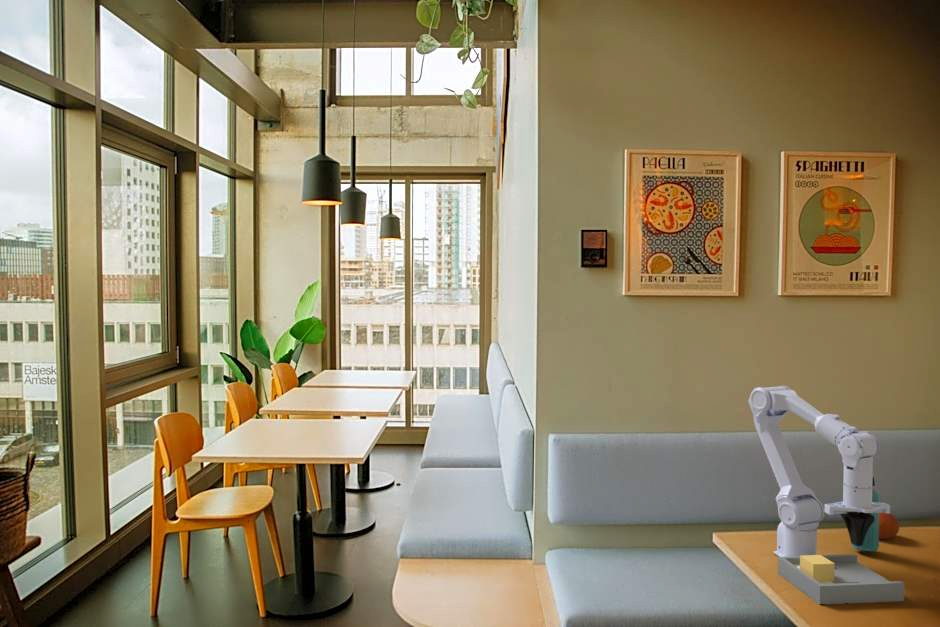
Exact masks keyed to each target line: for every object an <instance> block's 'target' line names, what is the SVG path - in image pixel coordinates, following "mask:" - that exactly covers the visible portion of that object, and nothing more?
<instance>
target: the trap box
mask: <svg viewBox="0 0 940 627" xmlns="http://www.w3.org/2000/svg"><path fill="white" fill-rule="evenodd" d="M821 555H822V556H823V557H825V558H827V559H828V560H830V561H831V562H833V563H835V571H834V581H829V582H818V581H816V580H815V579H814V578H812V577H811V576H809V575H808V574H806V573H805V572H803V571H802V570H801V569H800V556H788V557H779V556H778V557H777V574H778V575H779V576H781V577H782V578H783V579H785V580H786V581H787V582H788V583H790V584H792V586H794V587H796V588H797V589H798V590H800V591H801V592H802V593H803V594H805V595H806V596H807V597H808V598H810V599H811V600H813V601H815V603H817V604H818V605H819V604H825V605H842V604H843V605H844V604H845V603H848V604H864V603H865V604H866V603H870V604H871V603H889V602H892V603H893V602H905V582H904V581H902V580H893V581H890V580H889V579H887V578H885V577H884V576H882V575H880V574H878V573H877V572H875V571H873V570H871V569H870V568H868V567H867V566H865V565H863V564H861V563H860V562H858V555H857V554H856V553H855V554H854V553H851V554H850V553H849V554H826V555H825V554H821Z"/></svg>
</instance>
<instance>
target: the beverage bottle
mask: <svg viewBox="0 0 940 627" xmlns="http://www.w3.org/2000/svg"><path fill="white" fill-rule="evenodd" d="M875 485H876V484H875V478H874V477H873V481H872V487H874V486H875ZM872 502H877V503H880V494H879V493H878V492H877V491H876V490H875V489H874V488H872ZM871 515H872V516H874V517H875V521H874V522H873V523H872V525H871V526H870V527H869V529H868V531H867V533H866V536H865V538H864V542H863V545H862V546H856V545H854V544H852V543H851V540H850V544H851V546H852V547H853V548H855V549H857V550H861V551H865V552H876V551H878V550H879V548H880V539H879V513H871Z"/></svg>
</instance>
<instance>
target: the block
mask: <svg viewBox="0 0 940 627" xmlns="http://www.w3.org/2000/svg"><path fill="white" fill-rule="evenodd" d="M822 555H823V554H817V555H801V556H800V569H801V570H802V571H803V572H805V573H806V574H808V575H809V576H811V577H812V578H814V579H815V580H816V581H818V582H829V581H834V571H835V563H833V562H831V561H830V560H828V559H827V558H825V557H823V556H822Z"/></svg>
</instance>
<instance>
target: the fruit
mask: <svg viewBox="0 0 940 627" xmlns="http://www.w3.org/2000/svg"><path fill="white" fill-rule="evenodd" d="M899 530H900V525H899V522H898V519H897V518H896V517H895V515H893V514H892V513H891V512H890V514H886V513H879V540H889V539H892V538H895V536H896V535H898V533H899Z"/></svg>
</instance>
